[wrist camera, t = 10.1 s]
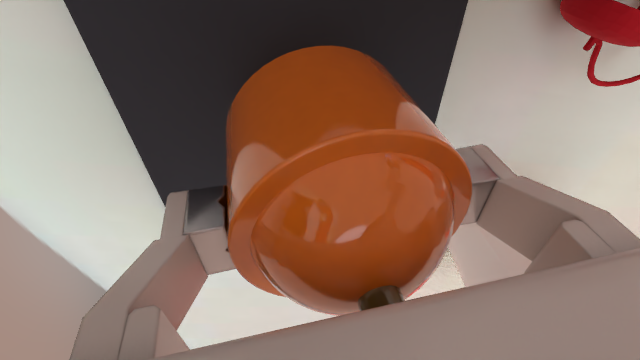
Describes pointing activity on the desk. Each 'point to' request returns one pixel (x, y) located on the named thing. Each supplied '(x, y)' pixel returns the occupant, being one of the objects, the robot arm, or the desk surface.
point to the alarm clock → (604, 28)
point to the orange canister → (338, 183)
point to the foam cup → (484, 256)
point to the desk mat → (243, 63)
